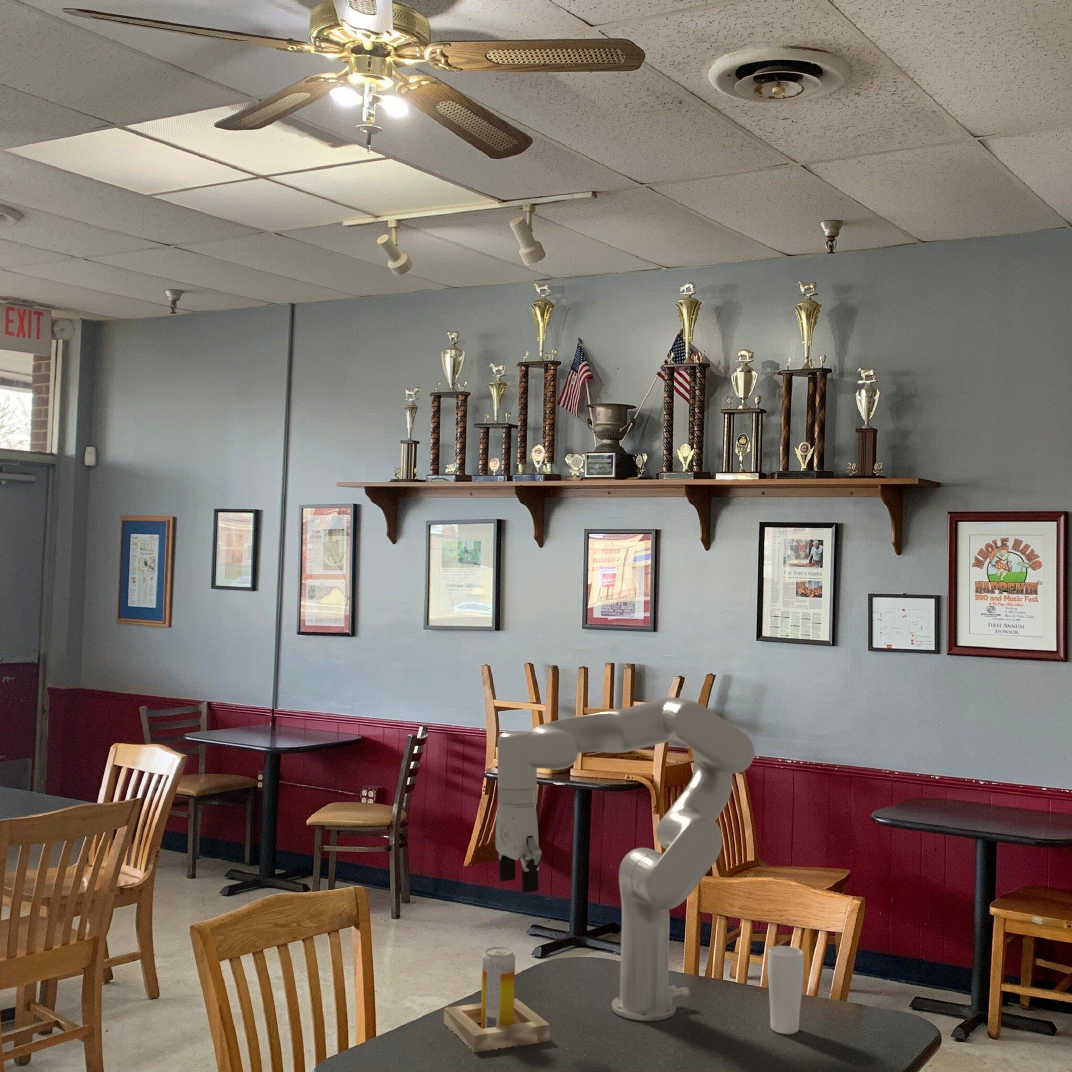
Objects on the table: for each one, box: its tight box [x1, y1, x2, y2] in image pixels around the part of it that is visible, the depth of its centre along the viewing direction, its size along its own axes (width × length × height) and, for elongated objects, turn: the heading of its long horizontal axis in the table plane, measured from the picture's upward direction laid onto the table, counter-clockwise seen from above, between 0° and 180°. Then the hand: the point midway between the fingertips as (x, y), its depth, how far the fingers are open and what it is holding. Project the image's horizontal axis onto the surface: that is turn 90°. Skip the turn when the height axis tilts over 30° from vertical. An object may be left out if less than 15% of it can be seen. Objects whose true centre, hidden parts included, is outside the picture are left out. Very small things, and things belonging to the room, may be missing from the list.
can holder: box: [443, 997, 551, 1053], centre depth 224 cm, size 15×15×3 cm
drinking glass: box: [767, 945, 805, 1035], centre depth 229 cm, size 7×7×15 cm
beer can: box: [480, 946, 516, 1029], centre depth 224 cm, size 6×6×15 cm
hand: (518, 885), depth 230 cm, fingers open, 9 cm apart
